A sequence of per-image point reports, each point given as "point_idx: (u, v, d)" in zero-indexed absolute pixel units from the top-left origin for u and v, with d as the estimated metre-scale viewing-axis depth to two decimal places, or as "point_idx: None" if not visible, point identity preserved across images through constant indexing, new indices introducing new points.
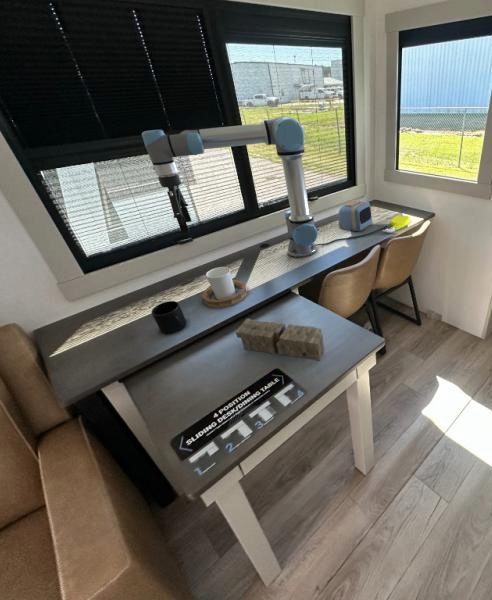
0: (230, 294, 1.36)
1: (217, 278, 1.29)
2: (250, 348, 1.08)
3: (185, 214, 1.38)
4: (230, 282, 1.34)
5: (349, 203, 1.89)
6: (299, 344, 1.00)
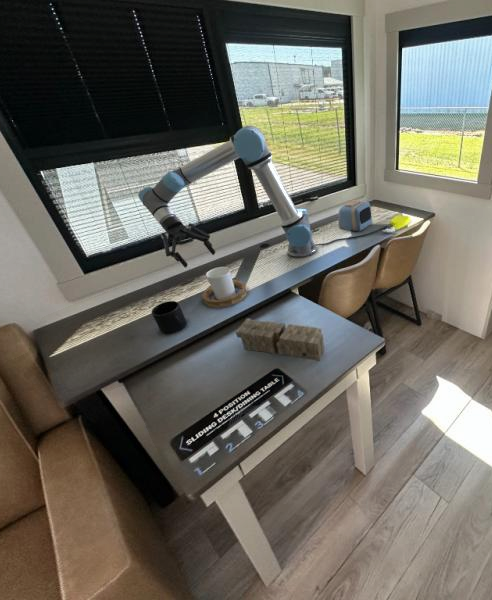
0: (230, 294, 1.36)
1: (217, 278, 1.29)
2: (250, 348, 1.08)
3: (208, 247, 1.40)
4: (230, 282, 1.34)
5: (349, 203, 1.89)
6: (299, 344, 1.00)
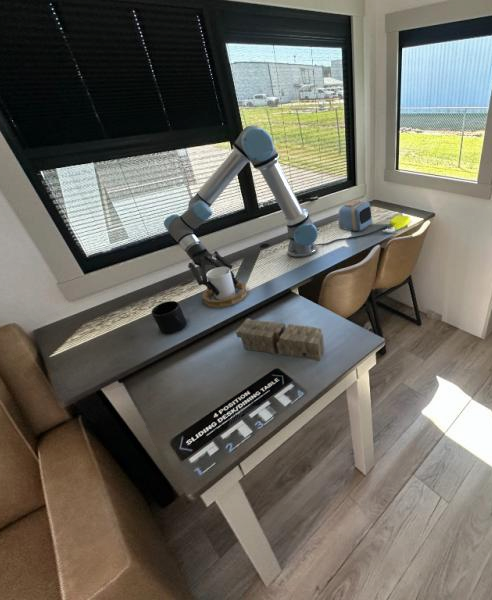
0: (230, 294, 1.36)
1: (217, 278, 1.29)
2: (250, 348, 1.08)
3: None
4: (230, 282, 1.34)
5: (349, 203, 1.89)
6: (299, 344, 1.00)
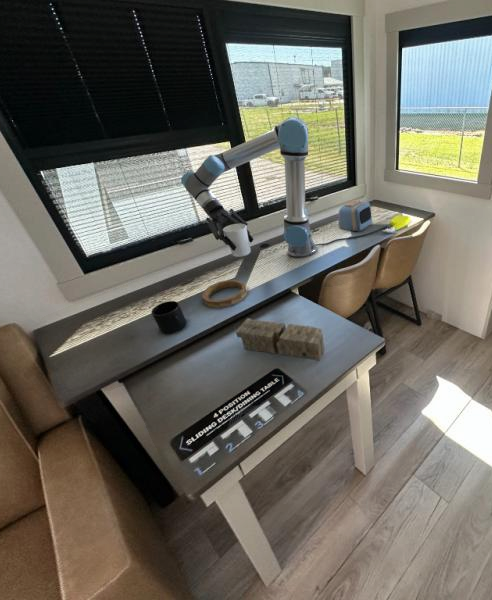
0: (246, 250, 1.39)
1: (234, 232, 1.32)
2: (250, 348, 1.08)
3: None
4: (246, 238, 1.37)
5: (349, 203, 1.89)
6: (299, 344, 1.00)
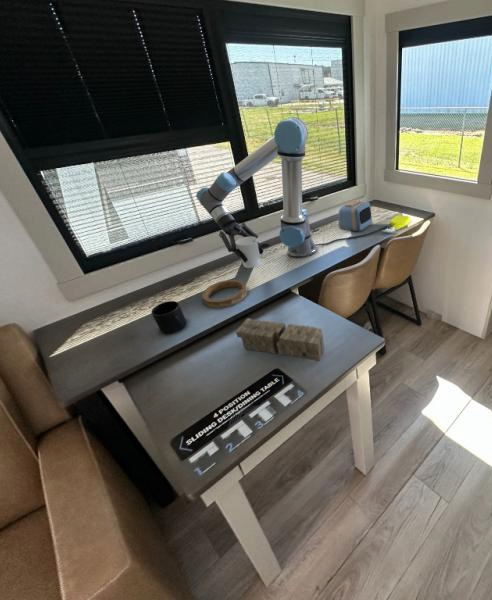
0: (256, 262, 1.47)
1: (246, 245, 1.40)
2: (250, 348, 1.08)
3: None
4: (257, 250, 1.45)
5: (349, 203, 1.89)
6: (299, 344, 1.00)
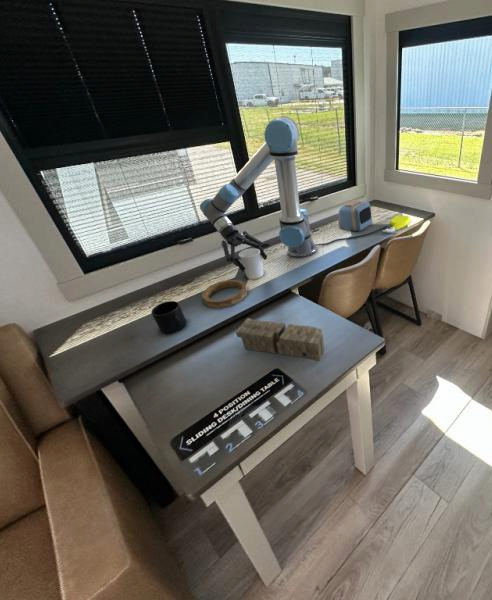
0: (259, 273, 1.50)
1: (249, 257, 1.44)
2: (250, 348, 1.08)
3: (260, 253, 1.53)
4: (260, 262, 1.49)
5: (349, 203, 1.89)
6: (299, 343, 1.00)
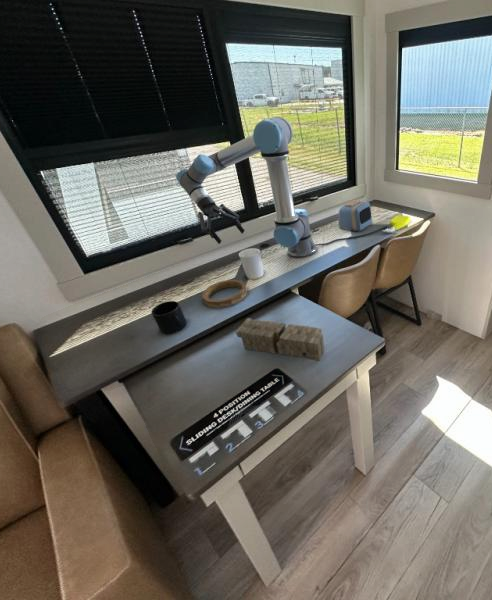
0: (259, 273, 1.50)
1: (249, 257, 1.44)
2: (250, 348, 1.08)
3: (238, 226, 1.54)
4: (260, 262, 1.49)
5: (349, 203, 1.89)
6: (299, 343, 1.00)
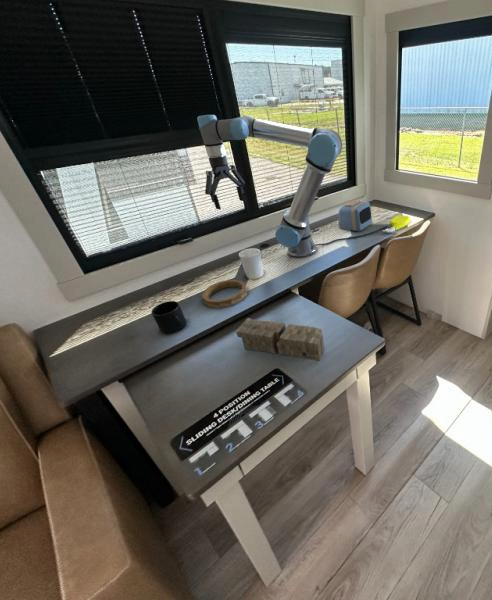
0: (259, 273, 1.50)
1: (249, 257, 1.44)
2: (250, 347, 1.08)
3: (239, 193, 1.51)
4: (260, 262, 1.49)
5: (349, 203, 1.89)
6: (299, 343, 1.00)
